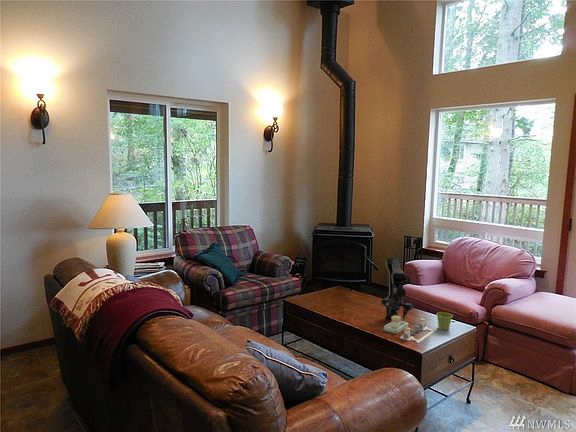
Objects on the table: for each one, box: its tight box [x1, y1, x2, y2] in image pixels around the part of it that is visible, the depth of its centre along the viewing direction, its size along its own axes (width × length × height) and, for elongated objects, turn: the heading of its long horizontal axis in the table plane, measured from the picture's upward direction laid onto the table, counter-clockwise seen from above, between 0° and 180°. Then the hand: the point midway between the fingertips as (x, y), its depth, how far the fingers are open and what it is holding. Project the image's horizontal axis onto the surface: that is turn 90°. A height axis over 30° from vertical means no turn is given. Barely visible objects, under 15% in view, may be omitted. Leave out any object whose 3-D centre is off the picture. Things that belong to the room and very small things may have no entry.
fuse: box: [390, 315, 402, 329], centre depth 252 cm, size 4×4×7 cm
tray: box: [382, 320, 410, 335], centre depth 253 cm, size 9×17×2 cm, turn 139°
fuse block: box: [399, 317, 437, 345], centre depth 244 cm, size 11×27×6 cm, turn 139°
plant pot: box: [436, 311, 453, 331], centre depth 254 cm, size 9×9×9 cm
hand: (396, 317), depth 252 cm, fingers open, 9 cm apart
